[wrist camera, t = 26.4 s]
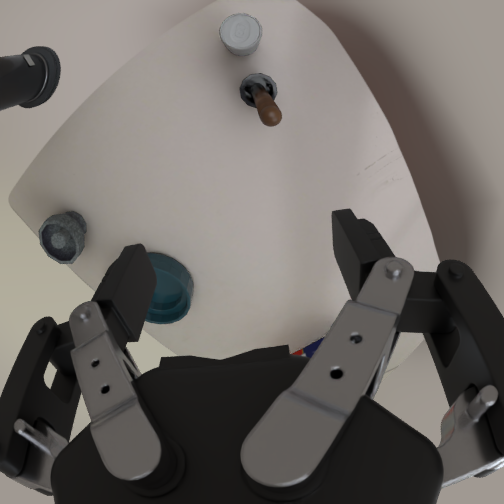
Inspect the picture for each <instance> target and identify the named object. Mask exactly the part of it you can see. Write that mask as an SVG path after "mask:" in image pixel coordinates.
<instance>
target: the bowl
mask: <svg viewBox="0 0 504 504" xmlns="http://www.w3.org/2000/svg"><path fill="white" fill-rule="evenodd" d="M147 254H148V256H149V259H150V261H151V263H152V266H153V268H154V270H155V273H156V277H157V285H156V288H155V291H154V294H153V297H152V300H151V303H150V306H149V309H148V312H147V315H146V318H145V321H147V322H150V323H156V324H170V323H173V322H176V321H179V320H181V319H182V318H183V317H184V316H185V315H186V314H187V313H188V311H189V309H190V306H191V301H192V296H193V281H192V279H191V276H190V274H189V273H188V271H187V270H186V269H185V268H184V266H183V265H181V264H180V263H178V262H177V261H176V260H174V259H173V258H170V257H168V256H165V255H163V254H155V253H147Z"/></svg>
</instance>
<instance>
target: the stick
mask: <svg viewBox="0 0 504 504" xmlns="http://www.w3.org/2000/svg"><path fill="white" fill-rule="evenodd" d="M251 92H252V95H253V98H254V101H255V104H256V107H257V110H258V113H259V117H260V120H261V121H262V123H263V124H264V125H266V126H270V127H272V126H276V125H278V124H279V123H280V121H281V119H282V113H281V111H280V109H279V108H278V106H277V105H276V103H275V102H274V100H273V99H272V98H271V96H270V95H269V93H268V92H267V90H266V89H265V87H264V86H263V85H262V84H260V83H256V84H254V85H253V86H252V87H251Z"/></svg>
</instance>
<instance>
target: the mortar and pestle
mask: <svg viewBox="0 0 504 504" xmlns="http://www.w3.org/2000/svg"><path fill="white" fill-rule="evenodd" d="M85 233H86V222H85V221H84V219H83V217H82V216H81V215H79V214H78V213H76V212H74V211H71V212H66V213H65V214H58V215H52V216H51V217H49V218H48V219H47V220H46V221H45V222H44V223H43V225H42V226H41V228H40V229H39V239H40V245H41V246H42V248H43V249H44V251H45V252H46V253H47V255H48V256H49V257H50V258H52V259H53V260H55V261H57V262H58V263H60V264H72V263H73V262H74V261H75V260H76V259H77V258H78V256H79V255H80V254H81V252H82V251H83V248H84V234H85Z"/></svg>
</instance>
